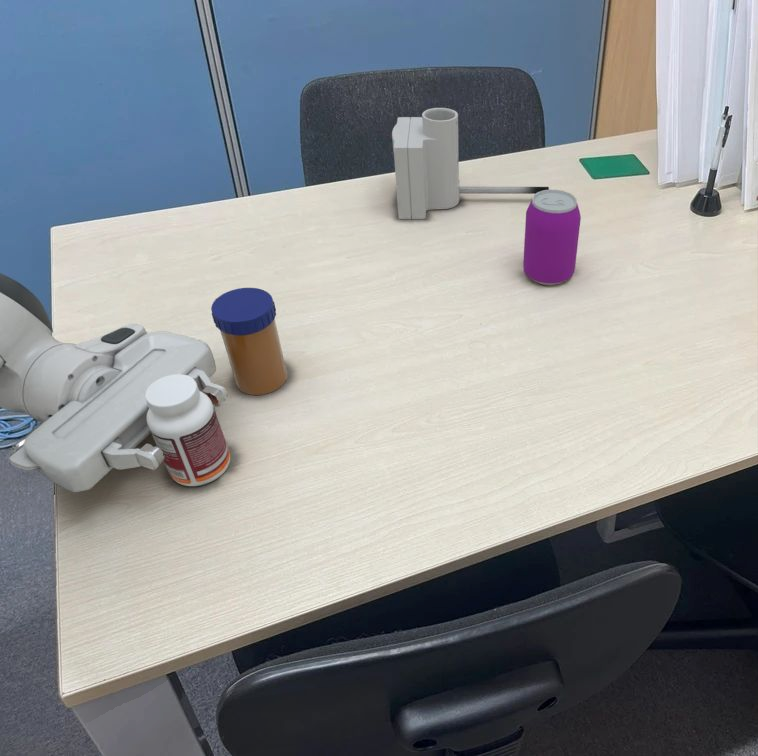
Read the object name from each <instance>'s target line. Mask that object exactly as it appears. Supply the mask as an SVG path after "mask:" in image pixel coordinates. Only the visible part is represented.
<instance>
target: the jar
mask: <svg viewBox="0 0 758 756" xmlns="http://www.w3.org/2000/svg"><path fill="white" fill-rule="evenodd" d="M219 332H220V335H221V338H222V341H223V345H224V348H225V351H226V355H227V358H228V361H229V364H230V368H231V371H232V375H233V378H234V382H235V384H236V388H237V389H238V390H239V391H240V392H242V393H243V394H245V395H246V394H247V395H251V396H263V395H267V394H271V393H273V392H276V391H277V390H279V389H280V388H281V387H282V386H283V385H284V384H285V383H286V381H287V379H288V371H287V368H286V363H285V358H284V353H283V349H282V345H281V340H280V337H279V331H278V328H277V323H276V319H275V320H274V321H273V322H272V323H271V324H270V325H269V326H268V327H266V328H265V329H263V330H261V331H259V332H256V333H252V334H248V335H230V334H227V333H224V332H222V331H220V330H219Z"/></svg>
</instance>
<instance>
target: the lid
mask: <svg viewBox="0 0 758 756" xmlns="http://www.w3.org/2000/svg"><path fill="white" fill-rule="evenodd" d="M210 311H211V316H212V320H213V323H214V325H215V327H216V328H217V329H218V330H219V332H220V331H222V332H224V333H227V334H230V335H248V334H252V333H256V332H259V331H261V330H263V329H265V328H266V327H268V326H269V325H270V324H271V323H272V322H273V321H274V320H275V321H276V316H277V309H276V305H275V301H274V299H273V296H272V295H271V293H269V292H268V291H267V290H264V289H261V288H259V287H258V288H257V287H240V288H236V289H235V288H234V289H231V290H229V291H226V292H224V293H222V294H221V295H219V296H218V297H217V298H215V299H214V301H212V304H211V308H210Z"/></svg>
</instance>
